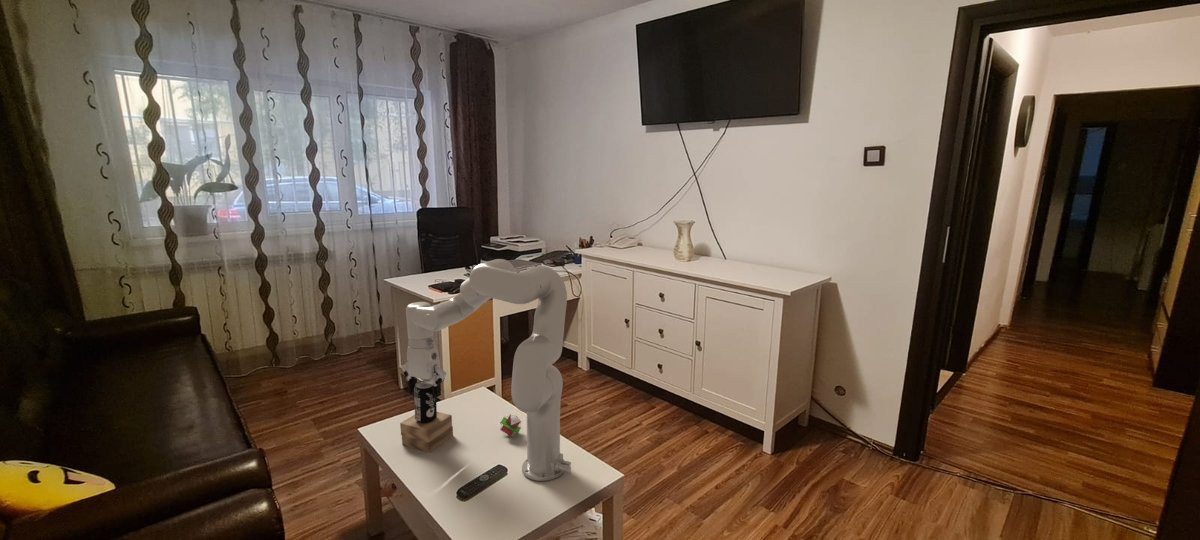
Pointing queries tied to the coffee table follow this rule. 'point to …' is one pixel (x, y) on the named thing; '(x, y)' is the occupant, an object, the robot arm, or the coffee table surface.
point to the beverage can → (424, 402)
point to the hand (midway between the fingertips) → (425, 394)
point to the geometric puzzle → (510, 425)
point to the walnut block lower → (427, 445)
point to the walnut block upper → (426, 427)
